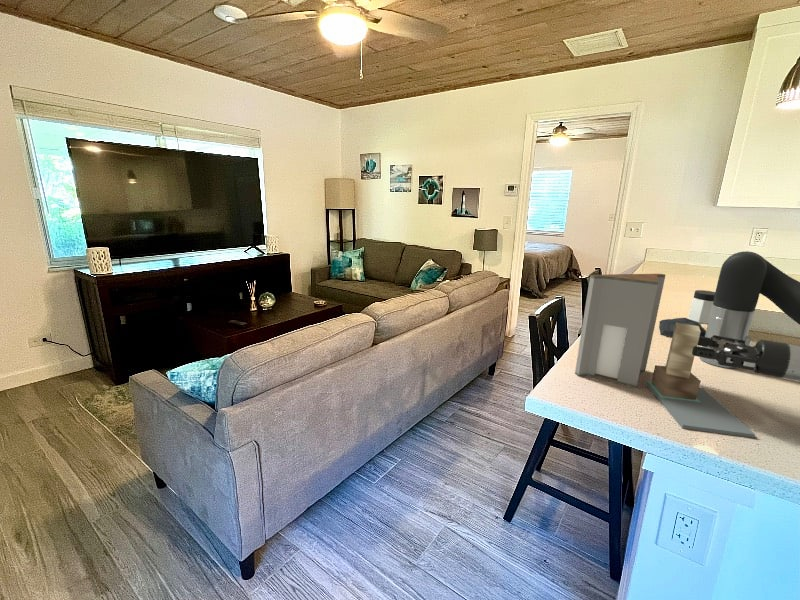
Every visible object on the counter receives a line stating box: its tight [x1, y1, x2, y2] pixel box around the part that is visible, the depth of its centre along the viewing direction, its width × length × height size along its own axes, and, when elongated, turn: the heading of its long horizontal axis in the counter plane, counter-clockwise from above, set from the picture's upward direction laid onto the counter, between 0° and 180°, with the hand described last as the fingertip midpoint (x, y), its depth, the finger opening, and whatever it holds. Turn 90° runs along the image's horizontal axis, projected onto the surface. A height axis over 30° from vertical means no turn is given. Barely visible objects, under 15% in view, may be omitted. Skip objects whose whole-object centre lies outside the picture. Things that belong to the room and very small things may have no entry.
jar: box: [687, 289, 715, 325], centre depth 150 cm, size 9×8×12 cm
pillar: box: [665, 323, 701, 379], centre depth 90 cm, size 4×4×12 cm
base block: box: [650, 364, 701, 400], centre depth 92 cm, size 7×7×5 cm
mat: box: [645, 380, 756, 439], centre depth 87 cm, size 13×20×1 cm, turn 167°
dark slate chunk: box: [658, 317, 707, 339], centre depth 138 cm, size 15×22×5 cm
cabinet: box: [574, 273, 666, 389], centre depth 97 cm, size 21×10×28 cm, turn 100°
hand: (691, 344), depth 88 cm, fingers open, 8 cm apart
